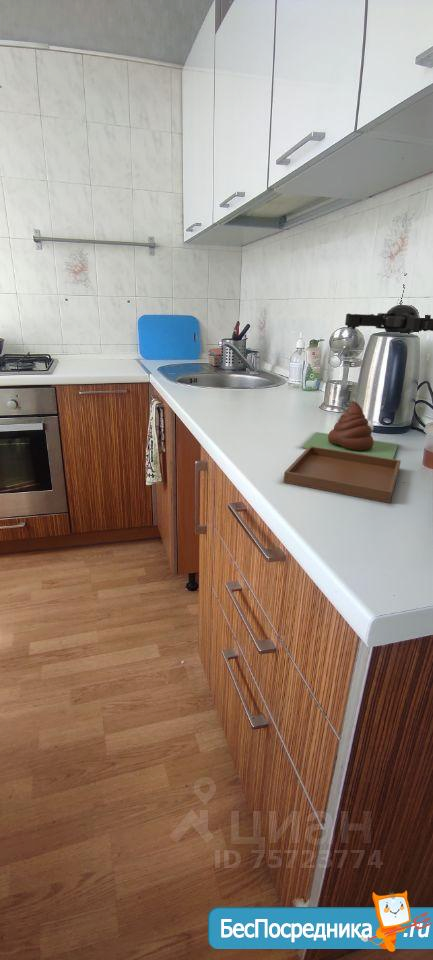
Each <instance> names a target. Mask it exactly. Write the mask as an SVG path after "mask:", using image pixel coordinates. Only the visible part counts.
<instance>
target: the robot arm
mask: <svg viewBox="0 0 433 960" xmlns="http://www.w3.org/2000/svg"><path fill="white" fill-rule="evenodd" d="M404 274H405V273H404ZM406 275H407V273H406V274H405V275H404V276H406ZM404 286H405V285H404V284H403V288H404V289H405V287H404ZM403 293H404V290H403ZM402 297H403V294H402ZM401 299H402V298H401ZM401 302H402V300H401V301H400V303H399V304H400V305H394V306H393V307H391V308H390V309H389V310H387V312H384V313H383V312H379V313H377V314H374V313H370V314H364V313H363V314H361V313H346V314H345V315H346V316H345V322H344V325H345V326H346V327H347V328H350V329H351V330H356V328H360V327H374V328H375V329H379V330H380V329H381V330H384V331H385V332H386V333H387V332H400V333H408V334H410V333H413V332H418V333H420V332H422V331H423V332H429V331H430V332H433V318H432V314H427V315H425V318H420V316H419V312H418V310H417V309H416V308H415V307H414V306H412V305H402V303H403V302H402V303H401ZM419 331H420V332H419Z"/></svg>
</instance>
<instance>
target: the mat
mask: <svg viewBox="0 0 433 960" xmlns="http://www.w3.org/2000/svg"><path fill="white" fill-rule="evenodd" d="M328 435H329V433H323V432H315V433H314V434H313V435H312V436H311V437H310V438H309V439H308V440H307V441H306V442H305V443H304V444H303V445H302V446H301V447H302V449H305V450H306V449H307V448H308V447H309V446H313V447H319V448H326V449H332V450H338V451H344V452H350V453H357V454H363V455H369V456H375V457H381V458H387V459H394V458H395V455H396V452H397V449H398V446H399V444H397V443H392V442H385V441H384V442H383V441H378V440H373V441H374V444H373V446H372V448H371V449H369V450H366V451H352V450H348V449H345V448H343V447H342V446H340V445H334V444H331V443H330V442H329V440H328Z"/></svg>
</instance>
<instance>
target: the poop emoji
mask: <svg viewBox="0 0 433 960" xmlns="http://www.w3.org/2000/svg"><path fill="white" fill-rule="evenodd" d="M373 430H374V422H372V421H371V420H368V419H367V418H366V415H365V414H364V411H363V408H362V407H361V406H360V404H359V403H357V402H356V401H354V400H351V401H350V402H349V406H348V407H347V409H346V412H344V413H342V414H341V415H340V417H339V418H338V421H337V422H336V423H334V426H333V429H331V430H330V431H329V432H328V434H329V435H328V440H329V442H330V443H331V444H334V445H340V446H342V447H343V448H345V449H348V450H352V451H366V450H369V449H371V448H372V446H373V444H374V441H375V440H374V438H373V436H372V432H373Z"/></svg>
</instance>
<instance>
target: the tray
mask: <svg viewBox="0 0 433 960" xmlns="http://www.w3.org/2000/svg"><path fill="white" fill-rule="evenodd" d="M401 461H402V460H399V459H394V458H393V459H387V458H381V457H375V456H369V455H363V454H357V453H350V452H344V451H338V450H332V449H326V448H319V447H313V446H309V447H308V448H307V449H306V448H305V450H304V451H303V452H302V453H301V454H300V456H298V457H297V458H296V459H295V461H294V462H293V463H291V465H289V467H288V468H287V469H285V471H284V472H283V473H284V474H283V483H284V484H289V485H295V486H300V487H304V488H311V489H315V490H321V491H325V492H330V493H336V494H340V495H346V496H351V497H355V498H360V499H365V500H370V501H371V500H372V501H376V502H381V503H386V504H390V503H391V501H392V497H393V494H394V490H395V485H396V483H397V479H398V476H399V471H400V466H401Z"/></svg>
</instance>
